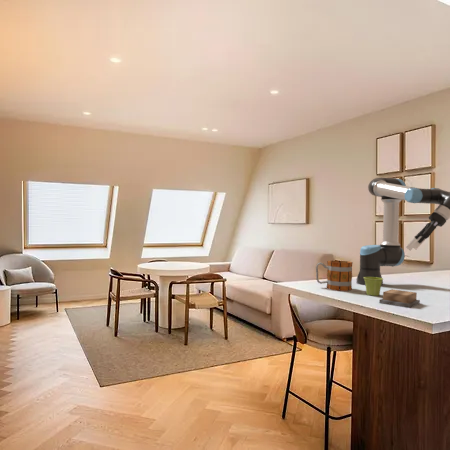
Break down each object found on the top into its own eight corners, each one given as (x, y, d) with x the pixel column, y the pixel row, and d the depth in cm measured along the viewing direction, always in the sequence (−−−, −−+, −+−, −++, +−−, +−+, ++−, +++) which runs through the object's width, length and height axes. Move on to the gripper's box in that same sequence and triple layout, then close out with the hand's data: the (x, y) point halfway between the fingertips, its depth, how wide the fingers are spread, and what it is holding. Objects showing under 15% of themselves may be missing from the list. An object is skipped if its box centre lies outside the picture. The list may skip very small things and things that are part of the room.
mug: (351, 287, 218) (351, 261, 218) (352, 291, 205) (353, 263, 205) (315, 285, 223) (316, 259, 223) (314, 289, 210) (315, 261, 210)
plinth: (379, 302, 177) (379, 292, 177) (390, 299, 187) (391, 288, 187) (409, 307, 168) (409, 296, 168) (419, 303, 178) (419, 292, 178)
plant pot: (359, 293, 201) (360, 276, 201) (377, 293, 202) (377, 276, 202) (368, 296, 192) (368, 279, 192) (386, 296, 193) (386, 279, 193)
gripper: (454, 218, 179) (423, 252, 181) (439, 223, 203) (411, 253, 205) (440, 208, 181) (409, 242, 183) (427, 214, 205) (400, 244, 207)
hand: (410, 248), depth 194 cm, fingers open, 13 cm apart
